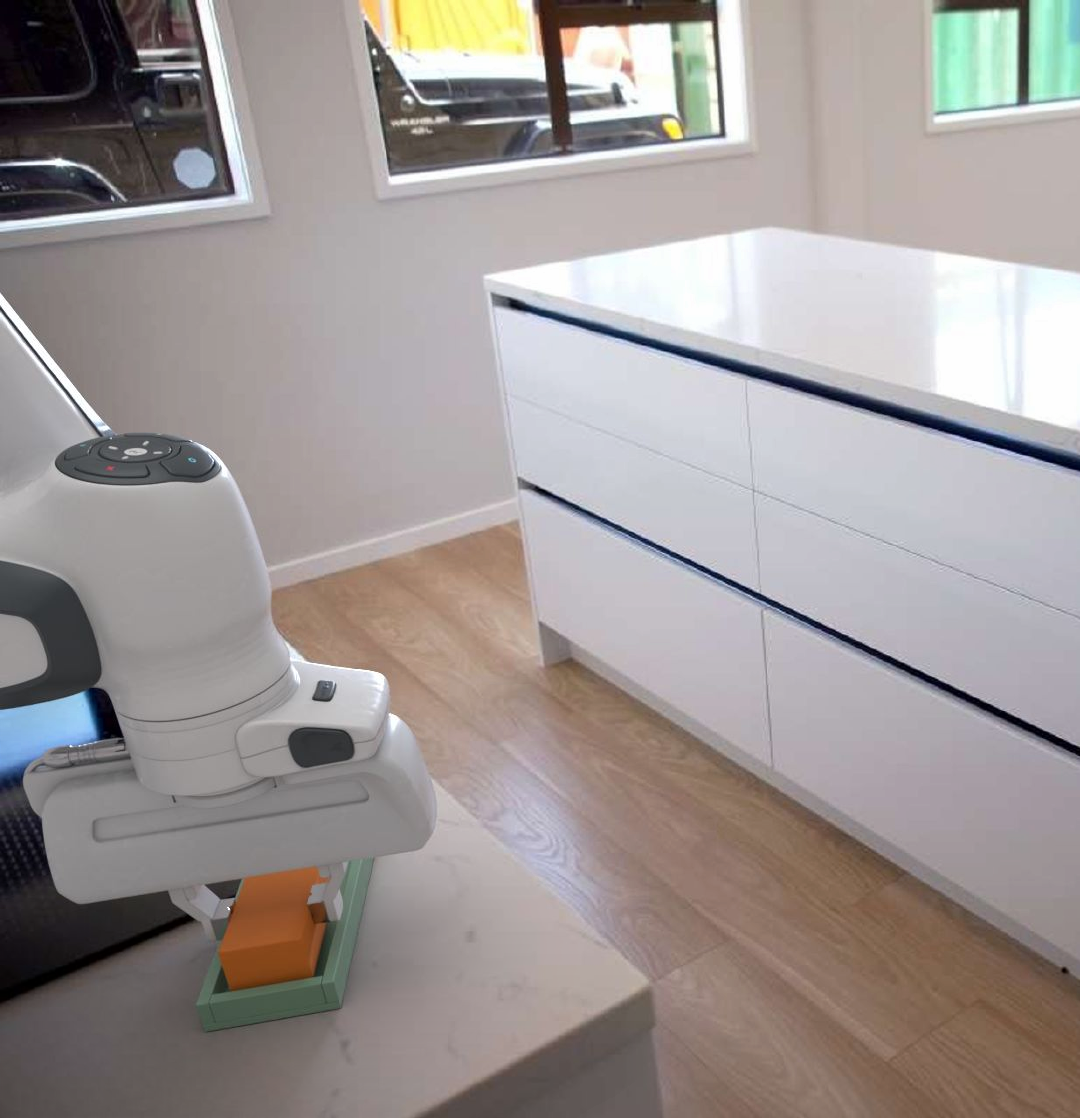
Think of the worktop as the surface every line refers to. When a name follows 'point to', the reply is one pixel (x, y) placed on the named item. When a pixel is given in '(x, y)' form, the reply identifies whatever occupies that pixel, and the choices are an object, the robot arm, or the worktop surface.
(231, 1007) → the tray
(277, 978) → the orange block
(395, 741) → the robot arm
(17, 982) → the worktop surface
